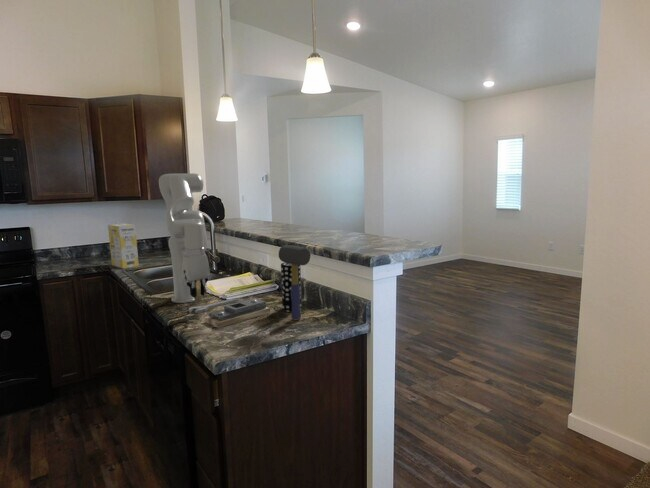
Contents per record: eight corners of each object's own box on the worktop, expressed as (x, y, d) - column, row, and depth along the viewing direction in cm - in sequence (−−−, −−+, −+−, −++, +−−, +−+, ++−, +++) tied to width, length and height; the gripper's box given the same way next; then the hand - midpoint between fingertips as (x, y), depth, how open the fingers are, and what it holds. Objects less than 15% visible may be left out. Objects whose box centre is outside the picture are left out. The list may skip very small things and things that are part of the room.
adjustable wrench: (237, 300, 202) (237, 296, 201) (244, 303, 197) (244, 299, 197) (187, 311, 185) (187, 308, 185) (194, 315, 180) (193, 311, 180)
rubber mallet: (279, 318, 172) (276, 245, 168) (293, 314, 178) (290, 243, 173) (299, 325, 164) (297, 248, 159) (313, 320, 169) (311, 245, 164)
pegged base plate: (209, 316, 170) (208, 308, 169) (254, 304, 185) (254, 296, 184) (220, 321, 164) (219, 312, 164) (265, 308, 179) (265, 300, 179)
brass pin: (192, 300, 175) (191, 277, 174) (199, 299, 177) (198, 275, 176) (196, 302, 173) (195, 278, 171) (203, 300, 175) (201, 277, 174)
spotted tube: (296, 312, 179) (295, 266, 176) (279, 310, 182) (277, 265, 179) (304, 307, 187) (303, 262, 184) (287, 305, 190) (286, 261, 187)
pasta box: (138, 265, 288) (135, 224, 284) (122, 268, 281) (119, 226, 277) (127, 262, 301) (123, 223, 296) (111, 265, 293) (107, 224, 289)
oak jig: (205, 322, 170) (204, 317, 169) (256, 308, 187) (256, 303, 187) (218, 327, 163) (218, 322, 162) (270, 312, 180) (270, 308, 180)
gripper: (208, 248, 180) (210, 289, 183) (171, 253, 169) (174, 298, 172) (217, 250, 175) (220, 293, 178) (180, 256, 163) (183, 302, 167)
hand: (197, 295), depth 175 cm, fingers closed on brass pin, 3 cm apart
